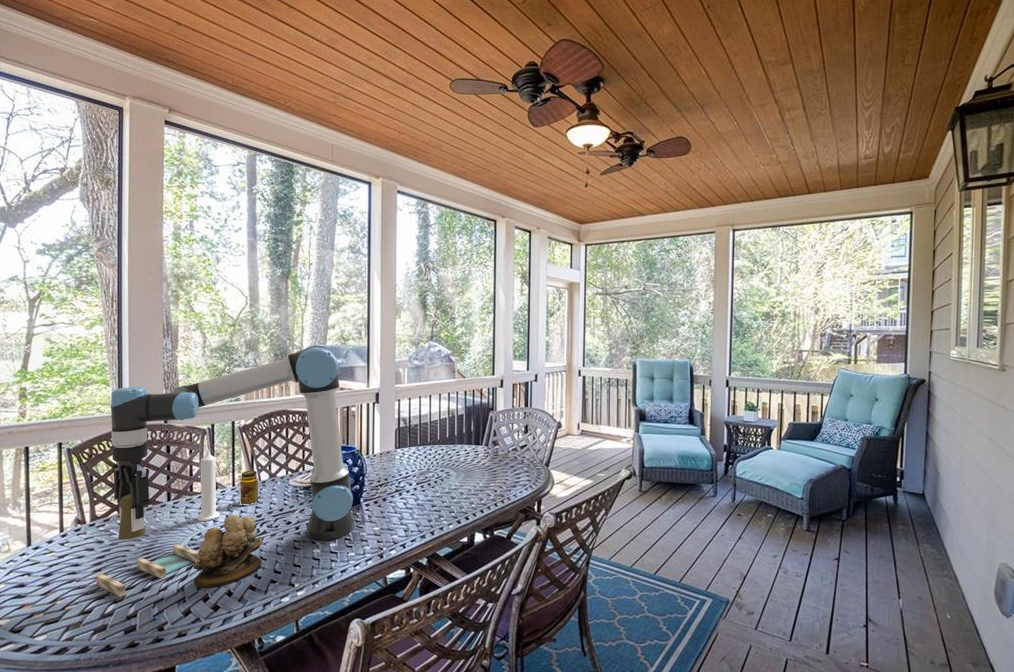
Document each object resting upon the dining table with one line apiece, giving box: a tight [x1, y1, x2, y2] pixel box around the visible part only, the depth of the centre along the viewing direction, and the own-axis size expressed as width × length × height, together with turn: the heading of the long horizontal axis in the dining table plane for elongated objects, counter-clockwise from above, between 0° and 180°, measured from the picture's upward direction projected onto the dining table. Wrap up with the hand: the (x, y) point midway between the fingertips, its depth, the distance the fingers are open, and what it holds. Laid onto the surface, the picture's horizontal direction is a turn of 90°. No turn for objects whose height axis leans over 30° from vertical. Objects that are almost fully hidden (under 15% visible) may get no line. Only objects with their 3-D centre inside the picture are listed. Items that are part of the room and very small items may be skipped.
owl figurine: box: [192, 514, 264, 589], centre depth 135 cm, size 18×12×17 cm, turn 142°
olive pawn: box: [117, 494, 147, 540], centre depth 130 cm, size 6×6×11 cm
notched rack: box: [95, 543, 200, 598], centre depth 139 cm, size 12×30×2 cm, turn 154°
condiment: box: [239, 470, 262, 505], centre depth 188 cm, size 7×8×12 cm
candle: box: [196, 449, 221, 522], centre depth 172 cm, size 7×7×25 cm
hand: (132, 527), depth 130 cm, fingers closed on olive pawn, 5 cm apart
